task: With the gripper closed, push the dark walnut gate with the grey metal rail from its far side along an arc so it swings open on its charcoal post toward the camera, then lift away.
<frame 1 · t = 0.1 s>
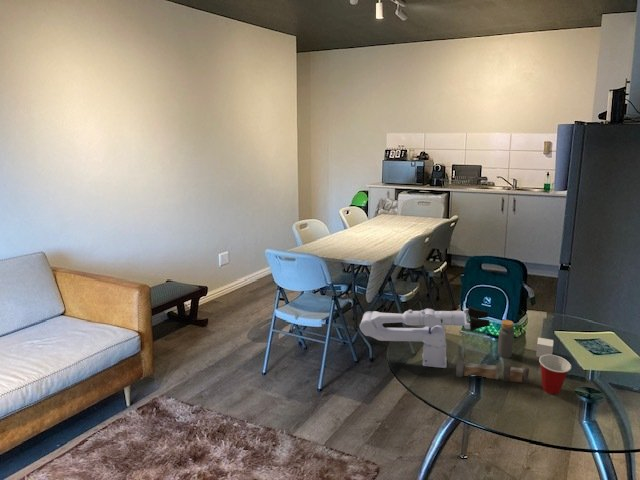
hand: (488, 318, 194), 22 cm above the table, tool horizontal, fingers open, 7 cm apart
bottle: (504, 354, 210), on the table
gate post: (459, 375, 195), on the table
gate: (481, 370, 193), point 3 cm above the table, hinge at 0.0°
fence: (514, 380, 191), on the table
plastic cup: (551, 390, 184), on the table
white cube: (543, 355, 209), on the table
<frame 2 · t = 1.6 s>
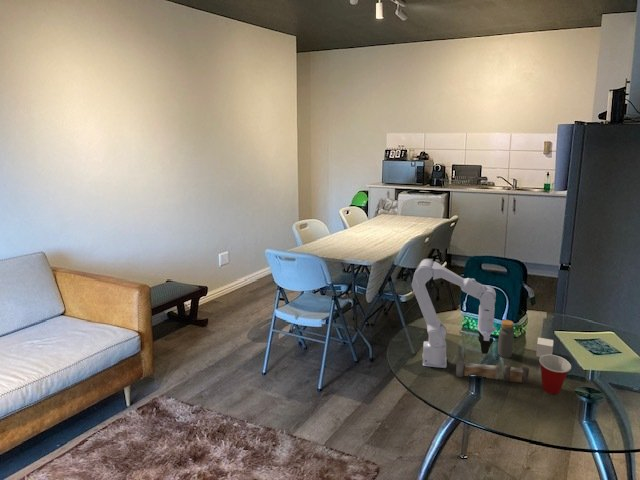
hand: (483, 348, 196), 9 cm above the table, tool pointing down, fingers open, 7 cm apart
nothing on the table moved.
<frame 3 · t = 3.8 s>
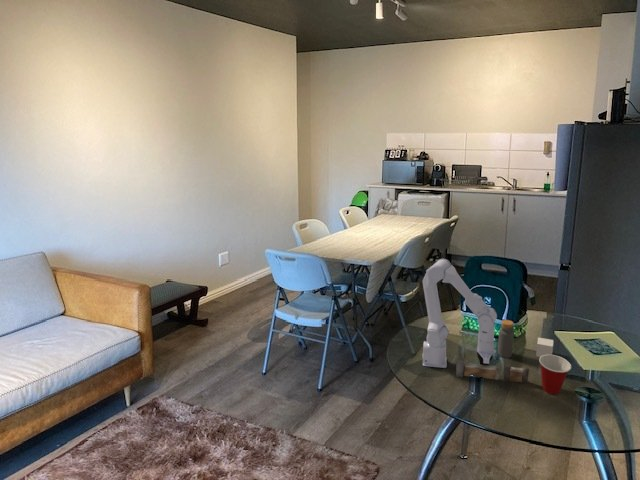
hand: (483, 370, 194), 2 cm above the table, tool pointing down, fingers closed
gate: (481, 371, 192), point 3 cm above the table, hinge at -1.8°, touching gripper
everything else where it was.
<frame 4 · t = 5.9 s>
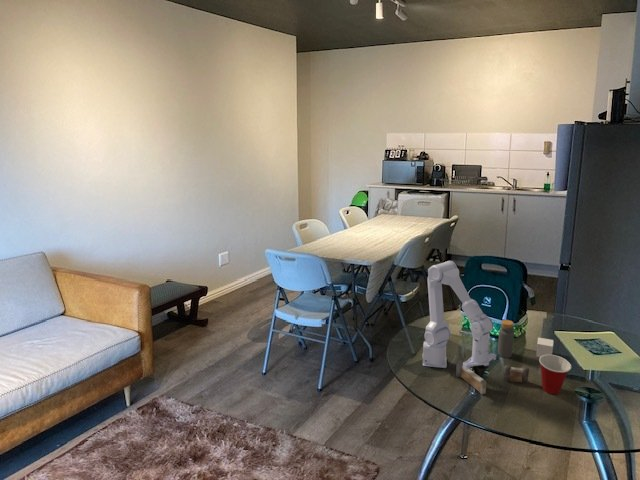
hand: (478, 380, 188), 2 cm above the table, tool pointing down, fingers closed
gate: (473, 379, 187), point 3 cm above the table, hinge at -54.9°, touching gripper
everything else where it was.
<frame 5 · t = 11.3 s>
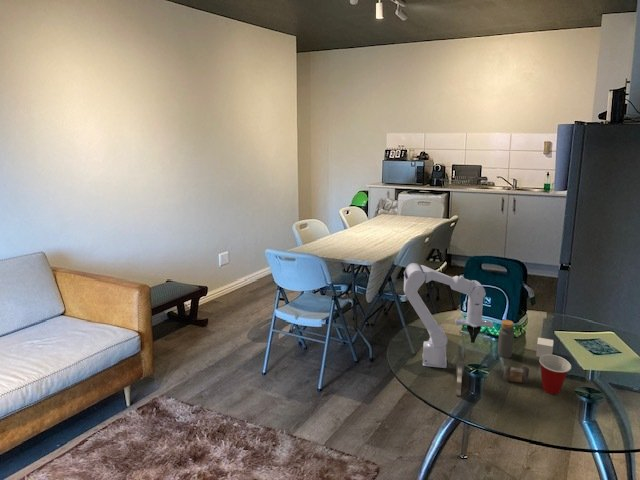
hand: (472, 341, 202), 9 cm above the table, tool pointing down, fingers closed
gate: (459, 379, 187), point 3 cm above the table, hinge at -93.3°
everything else where it was.
at the end: gate at -93° (first picture: +0°); bottle moved 0.2 cm from its start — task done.
